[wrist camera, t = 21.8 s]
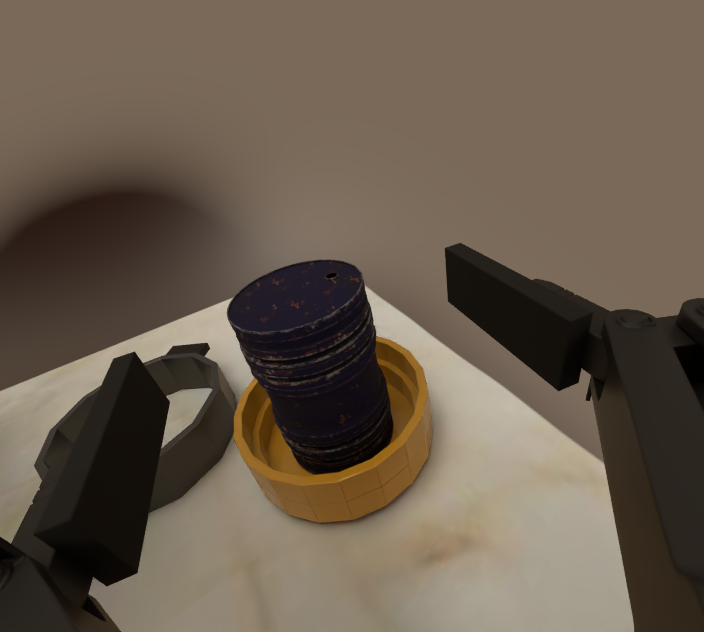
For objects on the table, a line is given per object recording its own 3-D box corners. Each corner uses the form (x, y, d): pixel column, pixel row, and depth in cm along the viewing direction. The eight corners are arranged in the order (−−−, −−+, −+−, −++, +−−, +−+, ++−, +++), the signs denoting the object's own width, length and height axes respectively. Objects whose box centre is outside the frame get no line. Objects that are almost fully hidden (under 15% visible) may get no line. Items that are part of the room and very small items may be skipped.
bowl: (362, 575, 23) (344, 535, 20) (221, 464, 32) (195, 425, 30) (462, 402, 33) (460, 358, 30) (331, 357, 42) (320, 320, 39)
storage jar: (312, 503, 27) (240, 357, 19) (276, 421, 35) (214, 293, 27) (417, 438, 30) (393, 287, 22) (362, 376, 38) (329, 248, 30)
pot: (175, 555, 26) (140, 522, 24) (9, 547, 30) (-38, 517, 27) (264, 367, 43) (250, 335, 41) (152, 376, 47) (132, 347, 44)
